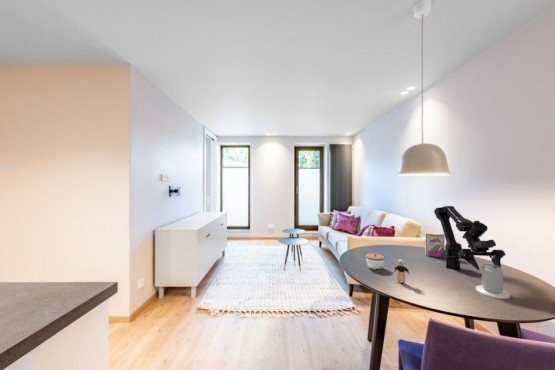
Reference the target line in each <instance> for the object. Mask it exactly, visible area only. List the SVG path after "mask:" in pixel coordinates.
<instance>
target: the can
mask: <svg viewBox="0 0 555 370" xmlns="http://www.w3.org/2000/svg"><path fill="white" fill-rule="evenodd" d="M481 285H482V288H484V290H486V291H488V292H491V293H498V294H499V293H501V292H503V290H504V270H503V269H502V266H501V267H499V266H496V265H494V264H490V263H485V264H483V266H481Z"/></svg>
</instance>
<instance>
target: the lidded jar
mask: <svg viewBox="0 0 555 370" xmlns="http://www.w3.org/2000/svg"><path fill="white" fill-rule="evenodd" d="M365 262H366V265H367V266H368V267H369V269H371V268H373V269H380V270H381V269H382V268H383V267H384V265H385V256H384V255H382V254H380V253H376V252H373V253H367V254H366V255H365ZM373 269H372V270H373Z"/></svg>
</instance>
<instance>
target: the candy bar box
mask: <svg viewBox="0 0 555 370" xmlns="http://www.w3.org/2000/svg"><path fill="white" fill-rule="evenodd" d="M424 243H425V244H424V253H425V256H426V257H434V258H443V259H444V258H445V257H444V256H443V252H444V250H445V235H444V233H437V232H436V233H435V232H424Z"/></svg>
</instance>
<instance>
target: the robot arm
mask: <svg viewBox="0 0 555 370" xmlns="http://www.w3.org/2000/svg"><path fill="white" fill-rule="evenodd" d="M433 213H434V215H435V217H436V219H437V220H438V221H440V226H441V228H442V232H443V234H444V240H445V241H446V243H445V244H444V252H443V256H444V258H445V262H446V263H445V268H446V269H450V270H458V271H459V270H460V269H461V261H460V260H464V261H466V262H467V263H469V264H470V265H471V266H472V267H474V268H475V270H478V271H480V267H479V265H478V263H477V261H476V259H475V256H477V257H480V256H481V257H489V259H490V261H491V262H492V265H496V266H499V267H501V268H502V264H501V259H502V258H504V257H505V256H506V253H505V251H504V250H503V249H492V250H491V251H489V250H490V249H491V248H494V247H496V246H497V244H496V241H495V240H494V239H488V240H481V239H480V238H481V237H482V236H483V235H484V234H485V233H486V232H487V230H488V229H489V228H488V225H486V224H485V223H482V222H480V220H474V221H472V220H470V219H468V218H465V217H464V216H463V215H462V214H461V213H460V212H459V211H458V210H457V209H456V208H455V206H453V205H444V206H441V207H436V208H435V209H434V210H433ZM450 218H451V219H452V220H453V222H454V223H455V227H456V229H457V230H458V231H459V232H464V233H463V235H462V236H461V237H462V239H465V240H466V242H467V244H468V245H467V248H463V247H462V244H461V243H459V242H457V240H456V237H455V234H454V231H453V227H452V224H451V220H450Z"/></svg>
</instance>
